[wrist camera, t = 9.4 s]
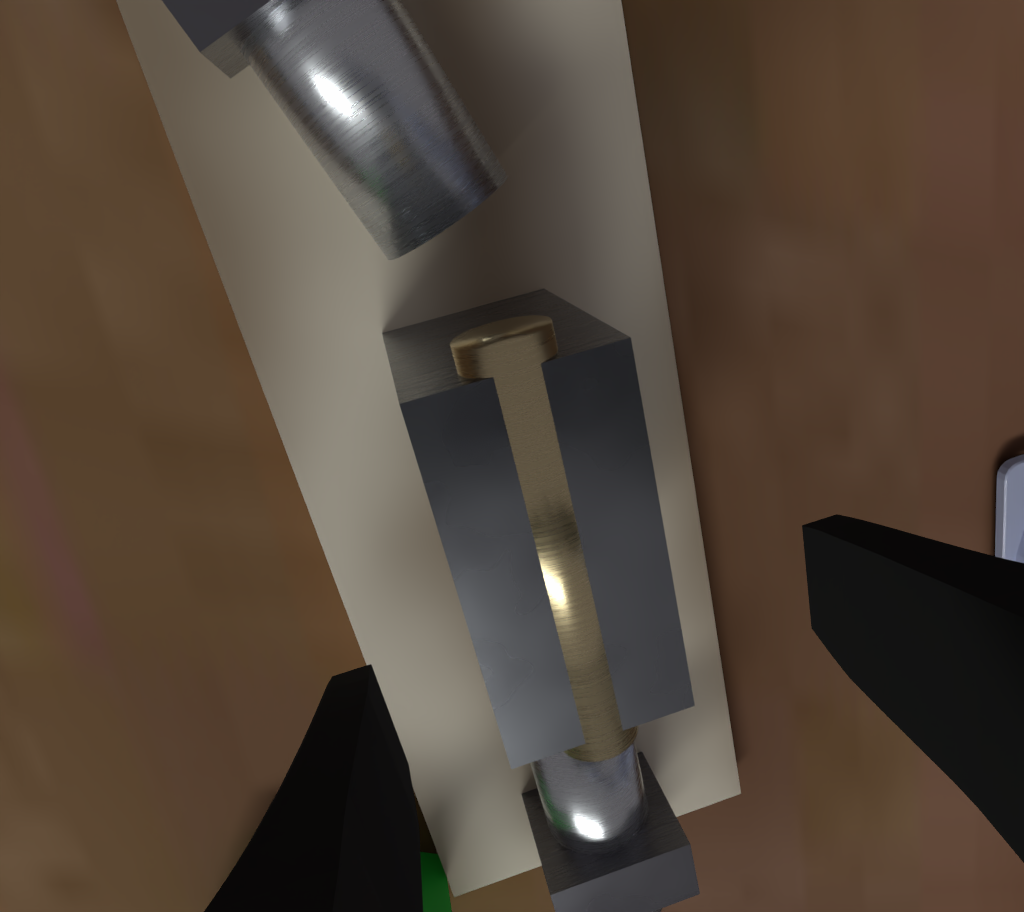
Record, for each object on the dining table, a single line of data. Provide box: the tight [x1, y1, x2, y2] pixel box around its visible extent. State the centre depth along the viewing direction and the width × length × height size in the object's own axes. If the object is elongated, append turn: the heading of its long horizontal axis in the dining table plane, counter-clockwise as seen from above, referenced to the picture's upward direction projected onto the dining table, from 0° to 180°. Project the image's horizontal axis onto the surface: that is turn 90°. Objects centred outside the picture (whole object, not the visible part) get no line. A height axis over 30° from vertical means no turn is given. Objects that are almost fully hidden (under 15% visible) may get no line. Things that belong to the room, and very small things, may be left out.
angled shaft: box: [162, 0, 508, 260], centre depth 14 cm, size 8×4×4 cm, turn 33°
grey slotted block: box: [382, 288, 695, 769], centre depth 17 cm, size 4×9×6 cm, turn 13°
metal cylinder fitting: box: [521, 741, 700, 912], centre depth 22 cm, size 8×4×4 cm, turn 13°
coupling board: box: [116, 0, 741, 897], centre depth 20 cm, size 10×28×1 cm, turn 13°
